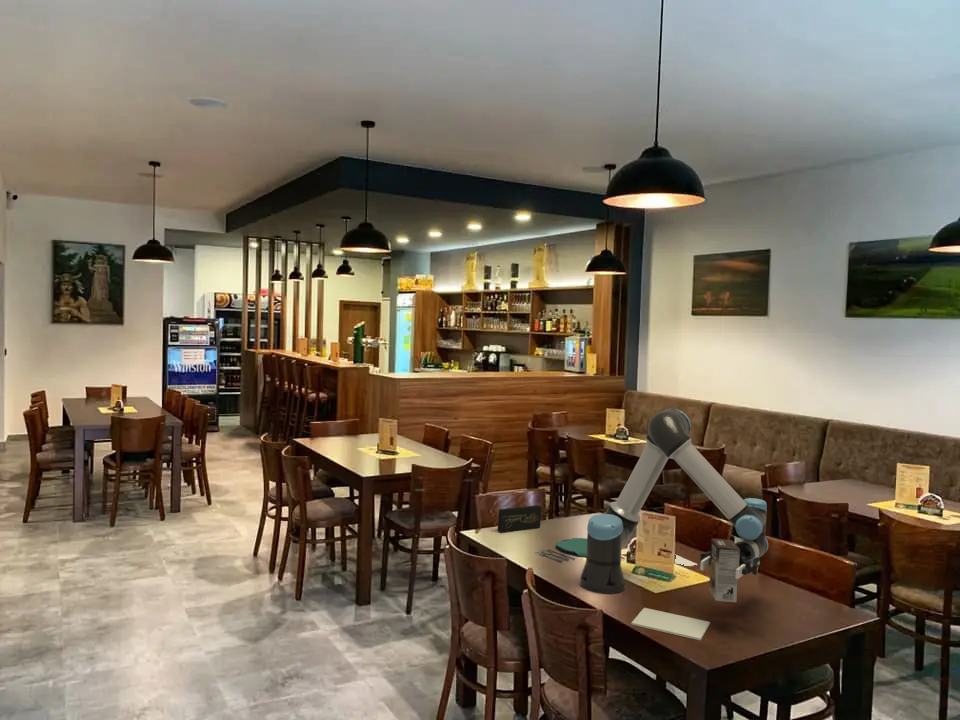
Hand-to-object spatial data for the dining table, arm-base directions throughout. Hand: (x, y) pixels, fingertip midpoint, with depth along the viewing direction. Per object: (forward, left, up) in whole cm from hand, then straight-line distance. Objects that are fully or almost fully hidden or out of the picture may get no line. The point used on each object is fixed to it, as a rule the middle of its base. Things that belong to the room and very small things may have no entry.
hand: (719, 569), depth 212 cm
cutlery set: (-63, +48, -19) cm, 82 cm away
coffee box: (+1, +4, -9) cm, 10 cm away
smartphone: (-25, +62, -19) cm, 69 cm away
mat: (-12, -3, -18) cm, 22 cm away
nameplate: (-93, +63, -18) cm, 114 cm away
